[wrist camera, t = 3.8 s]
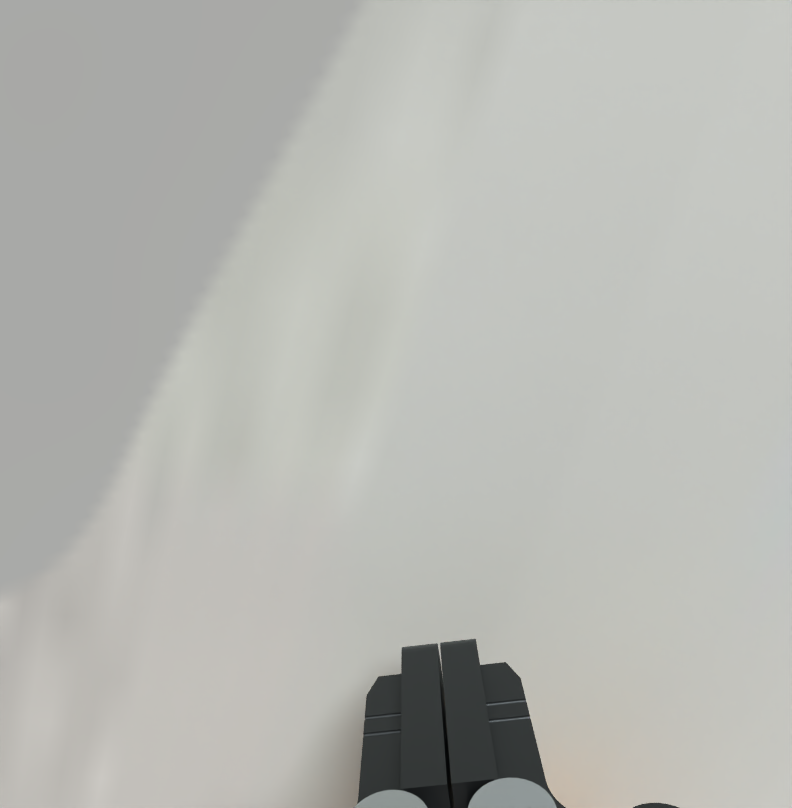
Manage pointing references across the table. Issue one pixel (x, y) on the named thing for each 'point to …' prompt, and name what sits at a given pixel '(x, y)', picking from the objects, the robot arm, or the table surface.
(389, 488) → the table surface
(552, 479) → the table surface
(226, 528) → the table surface
